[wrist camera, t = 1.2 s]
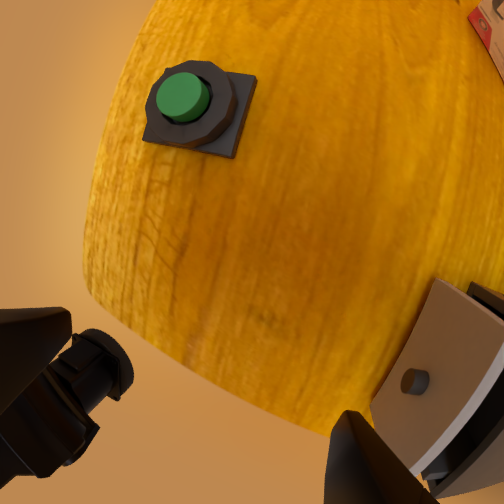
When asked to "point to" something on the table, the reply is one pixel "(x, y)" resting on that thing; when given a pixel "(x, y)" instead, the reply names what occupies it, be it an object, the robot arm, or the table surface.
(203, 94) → the button
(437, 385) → the drawer
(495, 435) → the cabinet
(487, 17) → the ink box
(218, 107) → the control block
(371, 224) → the table surface
